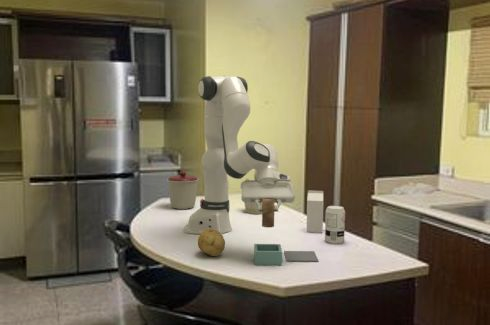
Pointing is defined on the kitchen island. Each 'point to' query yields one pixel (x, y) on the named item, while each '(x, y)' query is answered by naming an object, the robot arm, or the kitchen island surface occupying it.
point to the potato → (211, 242)
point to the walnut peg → (268, 212)
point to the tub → (267, 254)
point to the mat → (300, 256)
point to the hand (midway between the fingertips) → (268, 210)
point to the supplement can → (334, 224)
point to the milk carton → (315, 211)
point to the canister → (182, 190)
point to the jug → (252, 204)
